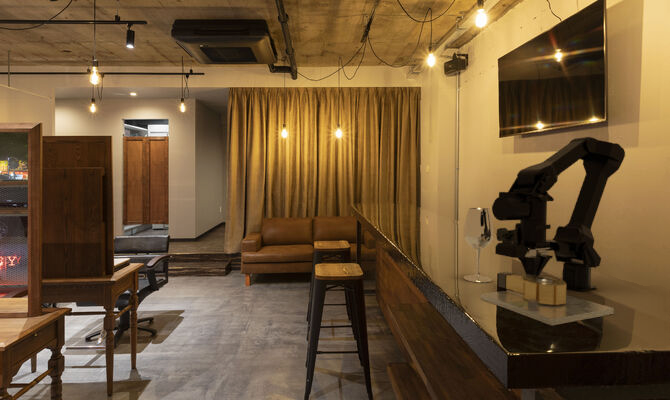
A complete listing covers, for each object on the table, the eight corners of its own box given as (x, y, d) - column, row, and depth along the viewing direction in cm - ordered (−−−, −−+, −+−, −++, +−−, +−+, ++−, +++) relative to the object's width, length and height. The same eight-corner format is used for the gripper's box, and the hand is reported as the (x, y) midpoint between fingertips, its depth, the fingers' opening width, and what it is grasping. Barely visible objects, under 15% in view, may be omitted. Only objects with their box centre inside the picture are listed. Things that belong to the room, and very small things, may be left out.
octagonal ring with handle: (514, 284, 95) (515, 266, 95) (573, 302, 81) (574, 280, 80) (490, 287, 92) (490, 268, 91) (547, 306, 78) (547, 284, 77)
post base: (537, 291, 95) (537, 267, 94) (613, 313, 78) (614, 285, 78) (481, 299, 88) (481, 273, 87) (551, 325, 71) (552, 293, 71)
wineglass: (491, 277, 109) (493, 208, 108) (493, 284, 102) (495, 209, 101) (463, 275, 111) (464, 207, 111) (462, 281, 104) (464, 208, 103)
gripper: (532, 216, 104) (531, 273, 104) (479, 218, 96) (478, 278, 97) (571, 219, 93) (569, 282, 94) (515, 222, 86) (513, 289, 87)
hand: (531, 283), depth 93 cm, fingers closed
